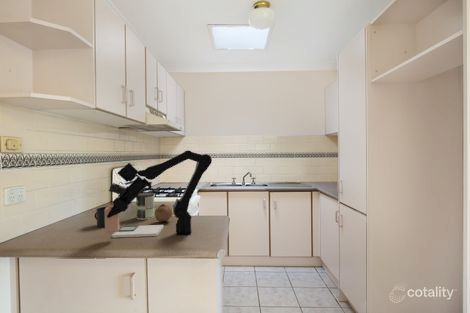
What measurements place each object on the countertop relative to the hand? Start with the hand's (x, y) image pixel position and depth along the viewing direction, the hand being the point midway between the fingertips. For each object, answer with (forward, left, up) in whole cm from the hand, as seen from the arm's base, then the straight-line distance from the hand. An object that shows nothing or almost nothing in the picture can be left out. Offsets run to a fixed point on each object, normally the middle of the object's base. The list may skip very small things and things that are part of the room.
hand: (108, 215), depth 112 cm
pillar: (-1, 0, -7) cm, 7 cm away
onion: (-17, -28, -11) cm, 35 cm away
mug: (+14, -27, -11) cm, 33 cm away
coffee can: (-4, -40, -11) cm, 42 cm away
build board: (-9, -11, -11) cm, 18 cm away
